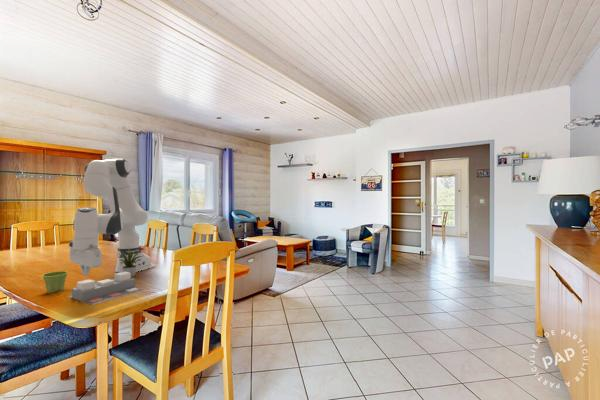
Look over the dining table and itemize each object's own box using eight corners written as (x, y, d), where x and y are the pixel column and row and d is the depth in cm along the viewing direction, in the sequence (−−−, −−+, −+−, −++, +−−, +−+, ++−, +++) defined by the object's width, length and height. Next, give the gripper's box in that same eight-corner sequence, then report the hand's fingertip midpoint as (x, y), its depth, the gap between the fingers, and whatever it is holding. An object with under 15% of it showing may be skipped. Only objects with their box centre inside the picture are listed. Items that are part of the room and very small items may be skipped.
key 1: (89, 290, 129) (89, 279, 129) (95, 292, 127) (95, 281, 127) (76, 293, 125) (76, 282, 124) (82, 295, 122) (82, 283, 122)
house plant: (129, 282, 151) (129, 252, 151) (107, 280, 153) (107, 251, 153) (148, 275, 165) (148, 247, 165) (127, 273, 167) (128, 246, 167)
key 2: (124, 281, 143) (124, 271, 143) (130, 282, 141) (130, 272, 141) (114, 283, 139) (114, 273, 139) (120, 285, 136) (120, 275, 136)
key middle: (107, 289, 136) (108, 278, 136) (113, 290, 134) (113, 280, 134) (96, 292, 132) (96, 281, 132) (102, 294, 129) (102, 283, 129)
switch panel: (120, 285, 147) (120, 275, 146) (144, 291, 137) (144, 281, 137) (67, 298, 126) (67, 287, 126) (91, 307, 117) (91, 295, 117)
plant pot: (46, 296, 129) (46, 277, 128) (38, 292, 134) (39, 274, 133) (70, 290, 137) (71, 273, 136) (63, 287, 142) (63, 270, 141)
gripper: (106, 245, 123) (106, 276, 123) (82, 240, 133) (82, 269, 133) (90, 247, 118) (89, 280, 118) (66, 242, 127) (66, 272, 127)
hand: (85, 274), depth 125 cm, fingers closed
